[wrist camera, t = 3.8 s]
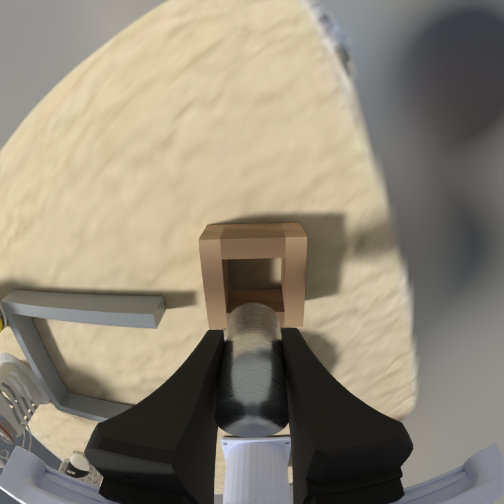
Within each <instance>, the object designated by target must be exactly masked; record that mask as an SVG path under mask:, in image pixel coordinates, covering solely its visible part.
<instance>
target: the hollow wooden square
mask: <svg viewBox="0 0 504 504" xmlns="http://www.w3.org/2000/svg"><path fill="white" fill-rule="evenodd" d="M199 250H200V259H201V268H202V277H203V285H204V293H205V301H206V308H207V316H208V323H209V329H227V325H228V319H229V316H230V314H231V313H232V311H233V310H234V309H236V308H237V307H239V306H241V305H243V304H246V303H261V304H264V305H266V306H268V307H270V308H271V309H273V310H274V311H275V313H276V314H277V316H278V318H279V323H280V328H281V327H303V318H304V302H305V284H306V262H307V235H306V233H305V231H304V229H303V228H302V226H301V224H300V222H288V223H250V224H221V225H207V226H206V228H205V230H204V231H203V233H202V235H201V236H200V238H199ZM257 258H281V289H254V290H230V282H229V268H228V259H257Z"/></svg>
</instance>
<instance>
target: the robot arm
mask: <svg viewBox="0 0 504 504" xmlns="http://www.w3.org/2000/svg"><path fill="white" fill-rule="evenodd" d="M281 343H282V352H283V360H284V369H285V379H286V388H287V398H288V409H289V427H290V435H291V437H267V438H230V437H223V438H221V445H222V449H223V453H224V457H225V461H226V472H225V484H224V496H223V504H290V496H289V480H288V463H289V457H290V450H292V470H293V502H294V504H491V503H492V502H494V501H495V500H497V499H498V498H500V497H501V496H502V495H504V458H503V457H502V455H501V453H500V451H499V449H498V447H497V445H496V443H493V444H491V445H489V446H488V447H486V448H484V449H482V450H480V451H478V452H477V453H475V454H474V455H473V456H471V457H470V458H469V459H468V460H467V461H466V462H465V463H464V465H462V466H460V467H458V468H456V469H453V470H451V471H449V472H447V473H444V474H442V475H440V476H437V477H435V478H432V479H430V480H427V481H424V482H422V483H419V484H416V485H413V486H410V487H407V488H404V489H403V487H402V484H401V480H400V478H401V477H402V471H401V468H400V467H401V466H402V465H403V463H404V462H405V461H406V460H407V458H408V457H409V456H410V454H411V452H412V450H413V444H412V441H411V439H410V436H409V434H408V432H407V431H406V429H405V427H404V425H403V424H402V423H401V422H399V421H397V420H395V419H392V418H390V417H388V416H386V415H384V414H382V413H380V412H378V411H377V410H375V409H373V408H372V407H370V406H368V405H367V404H365V403H364V402H363V401H361V400H360V399H358V398H357V397H356V396H354V395H353V394H352V393H350V392H349V391H348V390H347V389H346V388H345V387H343V386H342V385H341V384H340V383H339V382H338V381H337V380H336V379H335V378H334V377H333V376H332V375H331V374H330V373H329V372H328V371H327V369H326V368H325V367H324V366H323V365H322V364H321V362H320V361H319V360H318V359H317V357H316V356H315V355H314V353H313V352H312V351H311V349H310V348H309V346H308V345H307V343H306V342H305V340H304V339H303V337H302V335H301V334H300V332H299V330H298V329H297V328H284V329H282V333H281ZM224 345H225V339H224V330H208V331H207V332H206V334H205V335H204V337H203V338H202V340H201V341H200V343H199V344H198V345H197V347H196V348H195V349H194V351H193V352H192V353H191V355H190V356H189V357H188V358H187V360H186V361H185V362H184V363H183V364H182V365H181V366H180V368H179V369H178V370H177V371H176V372H175V373H174V374H173V375H172V376H171V377H170V378H169V379H168V380H167V381H166V382H165V383H164V384H163V385H161V386H160V387H159V388H158V389H157V390H155V391H154V392H153V393H152V394H150V395H149V396H148V397H146V398H145V399H144V400H142V401H141V402H139V403H138V404H136V405H134V406H133V407H131V408H129V409H128V410H126V411H124V412H122V413H120V414H118V415H116V416H114V417H112V418H110V419H107V420H105V421H103V422H100V423H98V424H97V426H96V427H95V429H94V431H93V433H92V435H91V437H90V440H89V442H88V444H87V447H86V449H85V451H84V454H85V457H86V459H87V460H88V461H89V463H90V464H91V465H92V466H93V467H94V468H95V469H96V470H97V471H98V472H99V473H100V474H101V475H102V476H103V480H102V483H101V486H100V487H98V486H95V485H92V484H89V483H86V482H84V481H81V480H78V479H76V478H73V477H71V476H68V475H66V474H64V473H61V472H59V471H57V470H54V469H52V468H50V467H48V466H46V464H45V463H44V462H43V461H42V460H41V459H40V458H38V457H37V456H36V455H34V454H32V453H31V452H29V451H27V450H25V449H23V448H21V447H19V446H16V447H15V449H14V451H13V452H12V454H11V456H10V458H9V460H8V462H7V464H6V466H5V468H4V470H3V472H2V474H1V476H0V488H1V489H2V490H3V491H4V492H6V493H7V494H8V495H10V496H11V497H12V498H14V499H15V500H17V501H18V502H20V503H21V504H214V477H215V457H216V443H217V432H218V425H217V424H216V422H215V419H214V415H215V407H216V400H217V393H218V386H219V379H220V372H221V365H222V358H223V351H224Z"/></svg>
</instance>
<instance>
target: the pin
mask: <svg viewBox="0 0 504 504" xmlns="http://www.w3.org/2000/svg"><path fill="white" fill-rule="evenodd" d="M214 419H215V422H216V424H217V425H218V426H219V427H220V428H221V429H222V430H224V431H225V432H227V433H229V434H232V435H235V436H238V437H244V438H261V437H267V436H270V435H273V434H276V433H278V432H279V431H281V430H282V429H284V428H285V427H286V425H287V424H288V422H289V409H288V398H287V388H286V379H285V369H284V360H283V352H282V343H281V332H280V323H279V318H278V316H277V314H276V313H275V311H274V310H273V309H271V308H270V307H268V306H266V305H264V304H261V303H246V304H243V305H241V306H239V307H237V308H236V309H234V310H233V311H232V313H231V314H230V316H229V319H228V325H227V331H226V338H225V345H224V351H223V358H222V365H221V372H220V379H219V386H218V393H217V400H216V407H215V415H214Z"/></svg>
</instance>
